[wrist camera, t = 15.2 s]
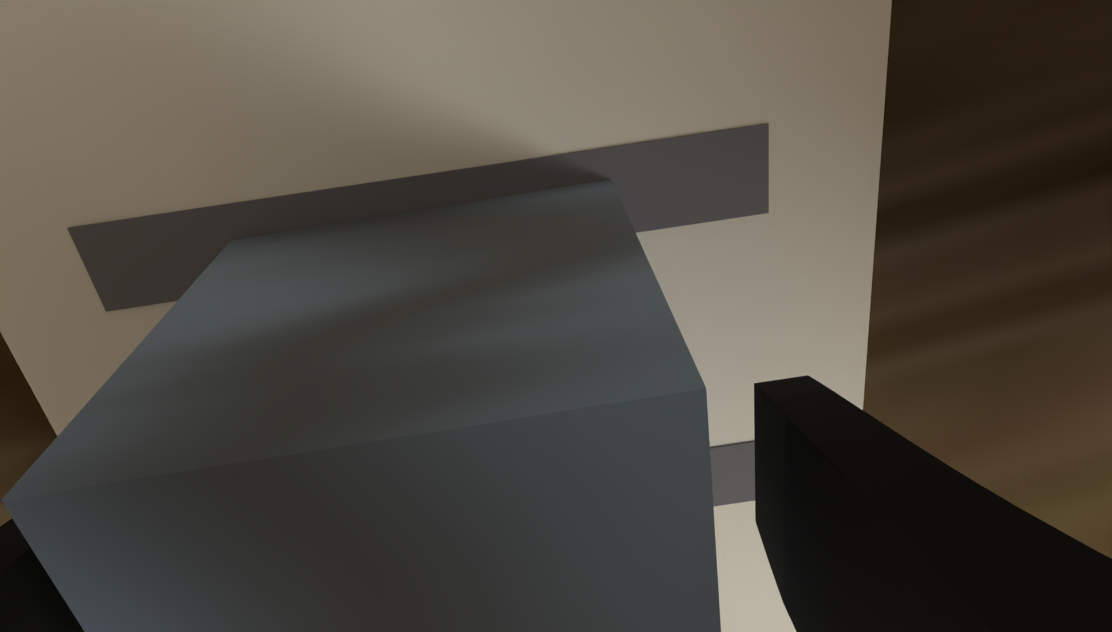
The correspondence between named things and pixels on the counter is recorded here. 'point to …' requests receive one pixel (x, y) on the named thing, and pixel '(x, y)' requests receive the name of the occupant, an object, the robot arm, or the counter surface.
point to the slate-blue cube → (396, 438)
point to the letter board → (455, 171)
